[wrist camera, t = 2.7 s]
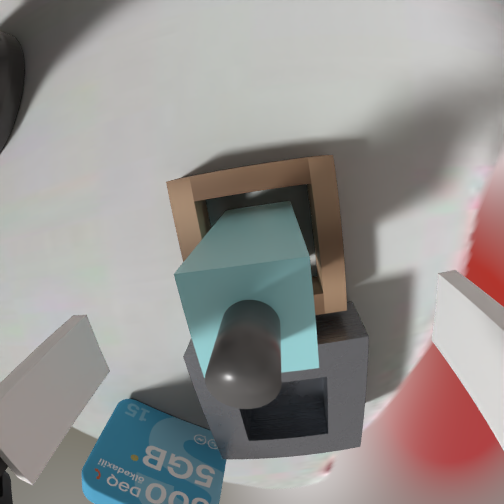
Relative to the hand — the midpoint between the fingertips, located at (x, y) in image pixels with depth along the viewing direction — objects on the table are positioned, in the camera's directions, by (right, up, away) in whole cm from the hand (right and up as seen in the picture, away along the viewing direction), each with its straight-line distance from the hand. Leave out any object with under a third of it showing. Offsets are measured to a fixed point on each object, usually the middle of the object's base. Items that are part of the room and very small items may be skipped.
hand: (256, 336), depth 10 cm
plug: (+1, +4, +12) cm, 12 cm away
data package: (-9, -16, +19) cm, 26 cm away
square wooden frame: (+1, +4, +12) cm, 12 cm away
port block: (+3, -7, +15) cm, 17 cm away
